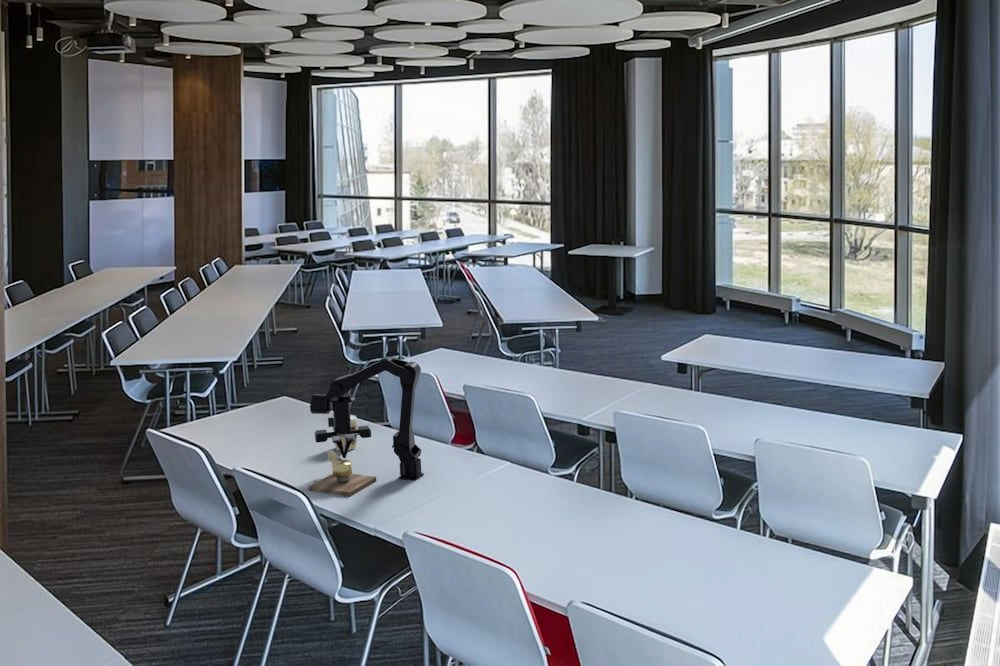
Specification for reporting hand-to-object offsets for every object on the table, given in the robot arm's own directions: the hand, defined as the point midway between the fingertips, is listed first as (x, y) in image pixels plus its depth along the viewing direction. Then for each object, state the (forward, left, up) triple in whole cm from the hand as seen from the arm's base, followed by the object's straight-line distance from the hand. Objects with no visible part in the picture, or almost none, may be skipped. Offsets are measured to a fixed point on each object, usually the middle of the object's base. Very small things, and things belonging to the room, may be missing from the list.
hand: (344, 457), depth 317 cm
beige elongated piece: (-1, +6, -2) cm, 6 cm away
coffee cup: (+17, -26, -6) cm, 32 cm away
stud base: (-6, +10, -6) cm, 13 cm away
